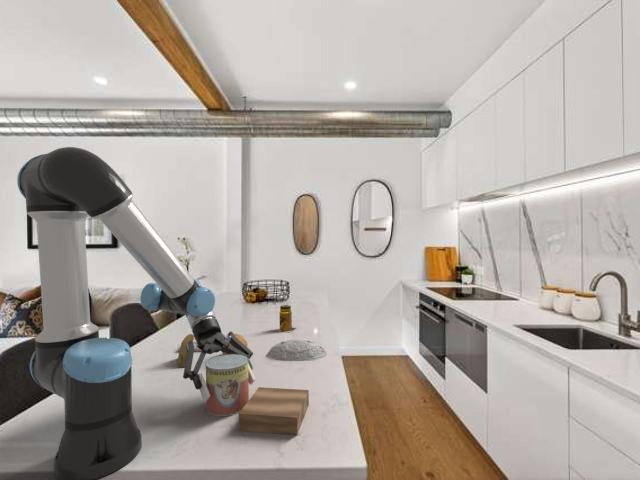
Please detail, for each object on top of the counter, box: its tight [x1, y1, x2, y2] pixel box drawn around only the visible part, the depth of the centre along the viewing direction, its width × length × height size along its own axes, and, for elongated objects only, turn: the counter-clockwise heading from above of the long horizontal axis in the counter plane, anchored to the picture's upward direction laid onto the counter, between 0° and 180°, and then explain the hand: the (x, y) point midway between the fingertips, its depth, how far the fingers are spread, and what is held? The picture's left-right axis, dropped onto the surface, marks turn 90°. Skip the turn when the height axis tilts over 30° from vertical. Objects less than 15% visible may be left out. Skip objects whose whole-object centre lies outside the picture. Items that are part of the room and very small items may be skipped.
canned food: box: [204, 354, 250, 417], centre depth 91 cm, size 11×11×12 cm
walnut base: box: [238, 386, 310, 436], centre depth 84 cm, size 14×14×4 cm
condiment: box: [277, 304, 297, 333], centre depth 166 cm, size 7×8×12 cm
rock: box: [176, 333, 194, 368], centre depth 123 cm, size 11×9×10 cm
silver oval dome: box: [266, 339, 328, 362], centre depth 131 cm, size 16×25×7 cm, turn 90°
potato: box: [221, 333, 248, 355], centre depth 127 cm, size 10×14×8 cm
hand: (231, 390), depth 89 cm, fingers open, 13 cm apart
